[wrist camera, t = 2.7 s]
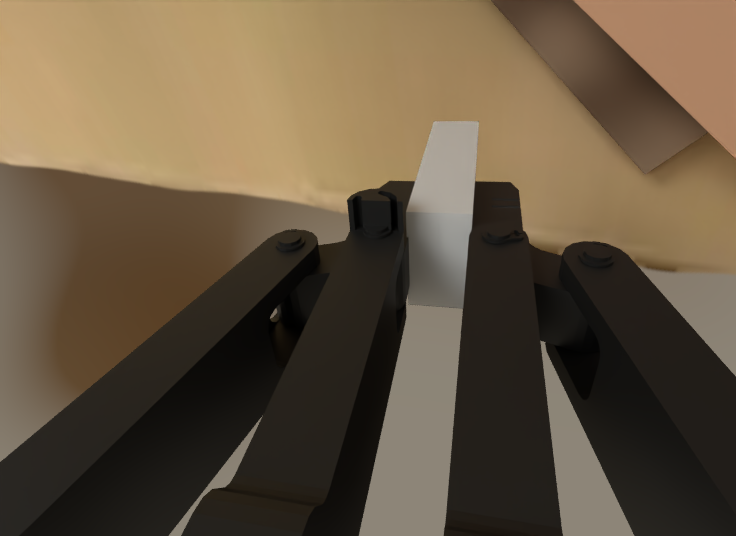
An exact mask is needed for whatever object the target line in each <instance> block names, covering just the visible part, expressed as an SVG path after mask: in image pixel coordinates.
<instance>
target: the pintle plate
mask: <svg viewBox="0 0 736 536" xmlns="http://www.w3.org/2000/svg"><path fill="white" fill-rule="evenodd" d="M491 1H492V2H493V3H494V4H495V6H496V7H497V8H498V9H499V10H500V11H501V12H502V13H503V15H504V16H505V17H506V18H507V19H508V20H509V21H510V22H511V24H512V25H513V26H514V27H515V28H516V29H517V30H518V32H519V33H520V34H521V35H522V36H523V37H524V38H525V39H526V41H527V42H528V43H529V44H530V45H531V46H532V47H533V48H534V50H535V51H536V52H537V53H538V54H539V55H540V56H541V58H542V59H543V60H544V61H545V62H546V63H547V64H548V65H549V67H550V68H551V69H552V70H553V71H554V72H555V73H556V75H557V76H558V77H559V78H560V79H561V80H562V81H563V82H564V84H565V85H566V86H567V87H568V88H569V89H570V90H571V91H572V93H573V94H574V95H575V96H576V97H577V98H578V99H579V101H580V102H581V103H582V104H583V105H584V106H585V107H586V108H587V110H588V111H589V112H590V113H591V114H592V115H593V116H594V117H595V119H596V120H597V121H598V122H599V123H600V124H601V125H602V127H603V128H604V129H605V130H606V131H607V132H608V133H609V134H610V136H611V137H612V138H613V139H614V140H615V141H616V142H617V144H618V145H619V146H620V147H621V148H622V149H623V150H624V151H625V153H626V154H627V155H628V156H629V157H630V158H631V159H632V160H633V162H634V163H635V164H636V165H637V166H638V167H639V168H640V170H641V171H642V172H643V173H644V174H647V173H648V172H650V171H651V170H653V169H654V168H656V167H657V166H659V165H660V164H662V163H663V162H665V161H666V160H668V159H669V158H671V157H672V156H674V155H675V154H677V153H678V152H680V151H681V150H683V149H684V148H686V147H687V146H689V145H690V144H692V143H693V142H695V141H696V140H698V139H699V138H701V137H702V136H704V135H705V134H707V133H708V131H707V130H705V129H704V128H703V127H702V126H701V125H700V124H699V123H698V122H697V121H696V120H695V119H694V118H693V117H692V116H691V115H690V114H689V113H688V112H687V111H686V110H685V109H684V108H683V107H682V106H681V105H680V104H679V103H678V102H677V101H676V100H675V99H674V98H673V97H672V96H671V95H670V94H669V93H668V92H667V91H665V90H664V89H663V88H662V87H661V86H660V85H659V84H658V83H657V82H656V81H655V80H654V79H653V78H652V77H651V76H650V75H649V74H648V73H647V72H646V71H645V70H644V69H643V68H642V67H641V66H640V65H639V64H638V63H637V62H636V61H635V60H634V59H633V58H632V57H631V56H630V55H629V54H628V53H627V52H626V51H624V50H623V49H622V48H621V47H620V46H619V45H618V44H617V43H616V42H615V41H614V40H613V39H612V38H611V37H610V36H609V35H608V34H607V33H606V32H605V31H604V30H603V29H602V28H601V27H600V26H599V25H598V24H597V23H596V22H595V21H594V20H593V19H592V18H591V17H590V16H589V15H588V14H587V13H586V12H584V11H583V10H582V9H581V8H580V7H579V6H578V5H577V4H576V3H575V2H574V1H573V0H491Z"/></svg>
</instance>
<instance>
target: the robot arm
mask: <svg viewBox="0 0 736 536" xmlns="http://www.w3.org/2000/svg"><path fill="white" fill-rule="evenodd" d="M478 129H479V121H434V123H433V126H432V129H431V132H430V136H429V139H428V142H427V145H426V148H425V152H424V155H423V158H422V161H421V165H420V168H419V171H418V174H417V178H416V181H389V182H387V183H386V184H385V185H383V186H382V187H380V188H379V189H368V190H364V191H359V192H357V193H355V194H353V195H351V196H350V197H349V198H348V199H347V203H348V213H349V222H350V232H349V234H348V236H347V238H346V240H345V241H342V242H338V243H332V244H324V245H318V240H317V237H316V236H315V235H314V234H313V233H312V232H309V231H306V230H297V229H291V230H285V231H283V232H280V233H277V234H275V235H274V236H272V237H270V238H268V239H267V240H266V241H265V242H263V243H262V244H261V245H260V246H259V247H257V248H256V249H255V250H254V251H253V252H252V253H250V254H249V255H248V256H247V257H245V258H244V259H243V260H242V261H241V262H239V263H238V264H237V265H236V266H235V267H233V268H232V269H231V270H230V271H229V272H227V273H226V274H225V275H224V276H223V277H221V278H220V279H219V280H218V281H217V282H215V283H214V284H213V285H212V286H211V287H209V288H208V289H207V290H206V291H205V292H204V293H202V294H201V295H200V296H199V297H197V298H196V299H195V300H194V301H193V302H192V303H190V304H189V305H188V306H187V307H186V308H184V309H183V310H182V311H181V312H180V313H178V314H177V315H176V316H175V317H174V318H172V319H171V320H170V321H169V322H168V323H166V324H165V325H164V326H163V327H162V328H160V329H159V330H158V331H157V332H156V333H154V334H153V335H152V336H151V337H150V338H148V339H147V340H146V341H145V342H144V343H142V344H141V345H140V346H139V347H138V348H136V349H135V350H134V351H133V352H132V353H131V354H129V355H128V356H127V357H126V358H124V359H123V360H122V361H121V362H120V363H119V364H117V365H116V366H115V367H114V368H112V369H111V370H110V371H109V372H108V373H107V374H105V375H104V376H103V377H102V378H100V380H98V381H97V382H96V383H94V384H93V385H92V386H91V387H90V388H88V389H87V390H86V391H85V392H84V393H82V394H81V395H80V396H79V397H78V398H76V399H75V400H74V401H73V402H72V403H70V404H69V405H68V406H67V407H66V408H64V409H63V410H62V411H61V412H60V413H58V414H57V415H56V416H55V417H54V418H52V420H50V421H49V422H48V423H47V424H46V425H44V426H43V427H42V428H41V429H39V430H38V431H37V432H36V433H35V434H33V435H32V436H31V437H30V438H29V439H27V440H26V441H25V442H24V443H23V444H21V445H20V446H19V447H18V448H17V449H15V450H14V451H13V452H12V453H11V454H9V455H8V456H7V457H6V458H5V459H3V460H2V461H1V462H0V536H169V534H170V533H171V532H172V530H173V529H174V528H175V527H176V525H177V524H178V523H179V522H180V520H181V519H182V518H183V516H184V515H185V514H186V513H187V511H188V510H189V509H190V507H191V506H192V505H193V503H194V502H195V501H196V500H197V499H198V497H199V496H200V495H201V493H202V492H203V491H204V490H205V488H206V487H207V486H208V484H209V483H210V482H211V481H212V479H213V478H214V477H215V475H216V474H217V473H218V472H219V470H220V469H221V468H222V467H223V465H224V464H225V463H226V461H227V460H228V459H229V457H230V456H231V455H232V454H233V452H234V451H235V450H236V449H237V447H238V446H239V445H240V443H241V442H242V441H243V440H244V438H245V437H246V436H247V435H248V433H249V432H250V431H251V429H252V428H253V427H254V426H255V424H256V423H257V422H258V420H259V419H260V418H261V417H262V415H263V417H262V419H261V421H260V423H259V425H258V427H257V429H256V432H255V434H254V436H253V438H252V440H251V442H250V444H249V446H248V448H247V450H246V453H245V455H244V457H243V459H242V461H241V463H240V465H239V467H238V470H237V472H236V474H235V476H234V477H233V479H232V481H231V482H230V484H228V485H227V486H226V487H225V488H218V489H212V490H211V491H210V492H208V493H207V494H206V495H205V496H204V497H203V498H202V500H201V501H200V503H199V504H198V506H197V507H196V509H195V511H194V512H193V514H192V516H191V518H190V520H189V522H188V524H187V525H186V528H185V529H184V531H183V533H182V535H181V536H359V532H360V527H361V522H362V518H363V513H364V509H365V504H366V499H367V495H368V490H369V485H370V481H371V476H372V472H373V467H374V462H375V458H376V453H377V449H378V444H379V440H380V435H381V431H382V426H383V421H384V417H385V412H386V408H387V403H388V399H389V394H390V390H391V385H392V380H393V376H394V371H395V367H396V362H397V357H398V353H399V348H400V344H401V339H402V335H403V330H404V326H405V321H406V299H407V295H408V299H409V304H410V305H424V306H436V307H449V308H462V309H463V316H462V328H461V341H460V353H459V365H458V378H457V390H456V402H455V414H454V426H453V439H452V451H451V463H450V476H449V488H448V501H447V513H446V523H445V529H444V536H563V534H562V527H561V518H560V510H559V501H558V492H557V483H556V475H555V467H554V457H553V448H552V440H551V432H550V422H549V413H548V405H547V396H546V387H545V379H544V370H543V361H542V353H541V344H540V340H541V341H544V342H546V343H545V345H546V350H547V353H548V355H549V358H550V360H551V362H552V364H553V366H554V368H555V370H556V372H557V374H558V376H559V379H560V381H561V383H562V385H563V387H564V389H565V391H566V393H567V395H568V397H569V399H570V402H571V404H572V406H573V408H574V410H575V412H576V414H577V416H578V418H579V420H580V423H581V425H582V427H583V429H584V431H585V433H586V435H587V437H588V439H589V441H590V444H591V445H592V448H593V450H594V452H595V454H596V456H597V458H598V460H599V462H600V464H601V466H602V469H603V471H604V473H605V475H606V477H607V479H608V481H609V483H610V485H611V488H612V490H613V492H614V494H615V496H616V498H617V500H618V502H619V504H620V506H621V509H622V511H623V513H624V515H625V517H626V519H627V521H628V523H629V525H630V527H631V529H632V532H633V534H634V535H635V536H736V376H735V375H734V374H733V373H732V372H731V371H730V370H729V369H728V367H727V366H726V365H725V364H724V363H723V362H722V361H721V360H720V358H719V357H718V356H717V355H716V354H715V353H714V352H713V351H712V349H711V348H710V347H709V346H708V345H707V344H706V343H705V341H704V340H703V339H702V338H701V337H700V336H699V335H698V334H697V333H696V331H695V330H694V329H693V328H692V327H691V326H690V325H689V323H688V322H687V321H686V320H685V319H684V318H683V317H682V316H681V314H680V313H679V312H678V311H677V310H676V309H675V308H674V307H673V305H672V304H671V303H670V302H669V301H668V300H667V299H666V298H665V296H664V295H663V294H662V293H661V292H660V291H659V290H658V289H657V287H656V286H655V285H654V284H653V283H652V282H651V281H650V280H649V278H648V277H647V276H646V275H645V274H644V273H643V272H642V271H641V269H640V268H639V267H638V266H637V265H636V264H635V263H634V262H633V260H632V259H631V258H630V257H629V256H628V255H627V254H626V253H624V252H623V251H622V250H620V249H618V248H616V247H614V246H611V245H609V244H606V243H600V242H595V241H593V242H578V243H573V244H571V245H570V246H568V247H566V248H565V250H564V252H563V254H562V256H561V255H557V254H553V253H549V252H545V251H542V250H540V249H538V248H535V247H534V246H532V245H531V244H529V238H528V236H527V234H526V232H524V231H523V227H522V217H521V208H520V198H519V190H518V189H517V188H516V187H515V186H514V185H513V184H512V183H511V182H476V181H475V178H476V161H477V145H478ZM275 308H277V314H276V315H275V316H274V317H273V318H271V319H270V316H271V314H272V313H273V311H274V310H275Z"/></svg>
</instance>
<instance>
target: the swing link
mask: <svg viewBox="0 0 736 536" xmlns="http://www.w3.org/2000/svg"><path fill="white" fill-rule="evenodd" d="M573 1H574V2H575V3H576V4H577V5H578V6H579V7H580V8H581V9H582V10H583V11H584V12H586V13H587V14H588V15H589V16H590V17H591V18H592V19H593V20H594V21H595V22H596V23H597V24H598V25H599V26H600V27H601V28H602V29H603V30H604V31H605V32H606V33H607V34H608V35H609V36H610V37H611V38H612V39H613V40H614V41H615V42H616V43H617V44H618V45H619V46H620V47H621V48H622V49H623V50H624V51H626V52H627V53H628V54H629V55H630V56H631V57H632V58H633V59H634V60H635V61H636V62H637V63H638V64H639V65H640V66H641V67H642V68H643V69H644V70H645V71H646V72H647V73H648V74H649V75H650V76H651V77H652V78H653V79H654V80H655V81H656V82H657V83H658V84H659V85H660V86H661V87H662V88H663V89H664V90H665V91H667V92H668V93H669V94H670V95H671V96H672V97H673V98H674V99H675V100H676V101H677V102H678V103H679V104H680V105H681V106H682V107H683V108H684V109H685V110H686V111H687V112H688V113H689V114H690V115H691V116H692V117H693V118H694V119H695V120H696V121H697V122H698V123H699V124H700V125H701V126H702V127H703V128H704V129H705V130H707V131H708V132H709V133H710V134H711V135H712V136H713V137H714V138H715V139H716V140H717V141H718V142H719V143H720V144H721V145H722V146H723V147H724V148H725V149H726V150H727V151H728V152H729V153H730V154H731V155H732V156H733V157H734V158H735V159H736V0H573Z"/></svg>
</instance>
